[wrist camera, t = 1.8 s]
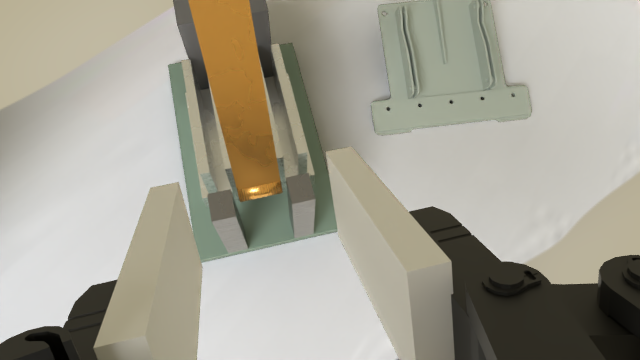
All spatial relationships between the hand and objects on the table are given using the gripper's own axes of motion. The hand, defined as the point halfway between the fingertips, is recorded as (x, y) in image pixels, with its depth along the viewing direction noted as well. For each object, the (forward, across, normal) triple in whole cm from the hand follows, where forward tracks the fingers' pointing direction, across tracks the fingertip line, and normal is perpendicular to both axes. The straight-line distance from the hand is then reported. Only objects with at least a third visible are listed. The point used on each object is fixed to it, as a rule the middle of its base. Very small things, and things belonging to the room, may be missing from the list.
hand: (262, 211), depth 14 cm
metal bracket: (+33, +19, -5) cm, 39 cm away
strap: (+17, 0, 0) cm, 17 cm away
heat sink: (+28, 0, -8) cm, 29 cm away
